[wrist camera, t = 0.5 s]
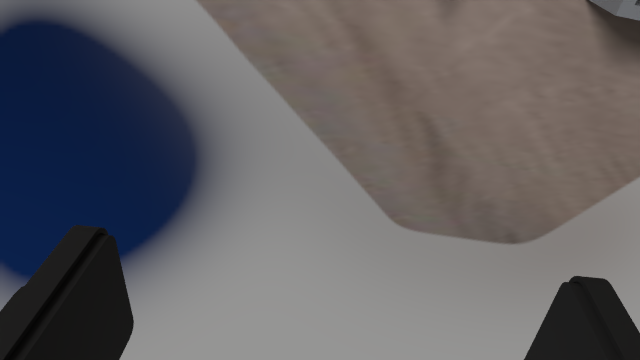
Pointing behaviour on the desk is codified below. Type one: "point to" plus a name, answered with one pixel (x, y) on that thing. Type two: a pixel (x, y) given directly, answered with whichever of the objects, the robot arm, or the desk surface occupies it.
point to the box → (621, 7)
